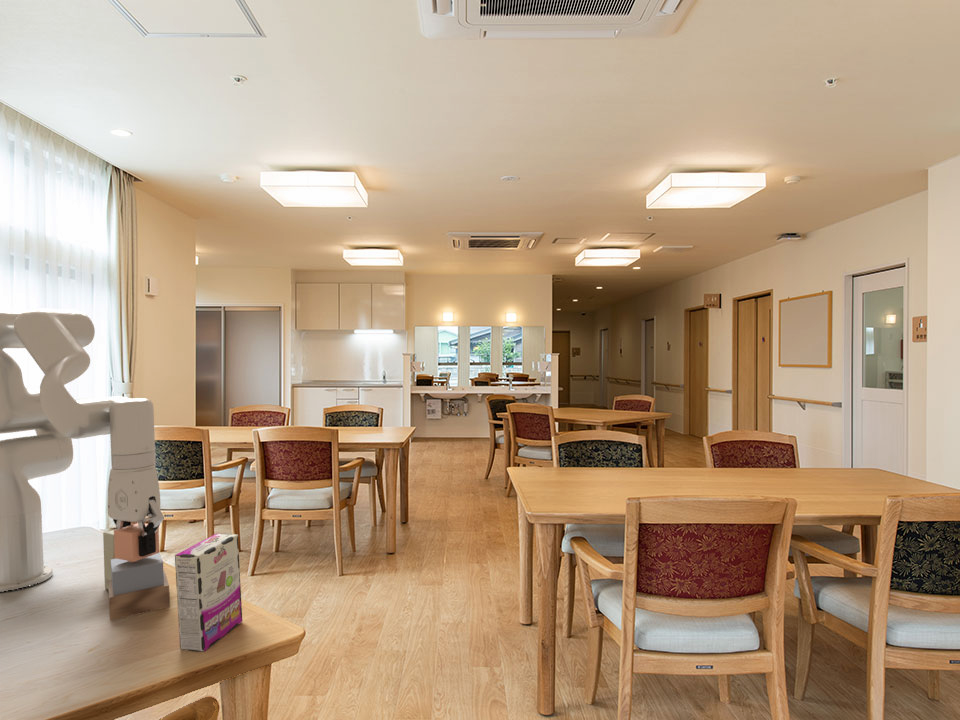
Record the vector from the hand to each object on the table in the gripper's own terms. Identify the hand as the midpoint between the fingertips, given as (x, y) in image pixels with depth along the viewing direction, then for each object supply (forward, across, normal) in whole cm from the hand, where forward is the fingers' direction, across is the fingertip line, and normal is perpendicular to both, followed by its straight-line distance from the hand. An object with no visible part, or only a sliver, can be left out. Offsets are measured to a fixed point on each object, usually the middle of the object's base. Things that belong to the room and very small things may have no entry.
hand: (137, 551), depth 118 cm
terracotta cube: (+1, 0, 0) cm, 1 cm away
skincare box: (+11, -12, +5) cm, 17 cm away
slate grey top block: (+6, 0, 0) cm, 6 cm away
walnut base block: (+11, 0, 0) cm, 11 cm away
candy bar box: (+11, +25, -4) cm, 27 cm away
